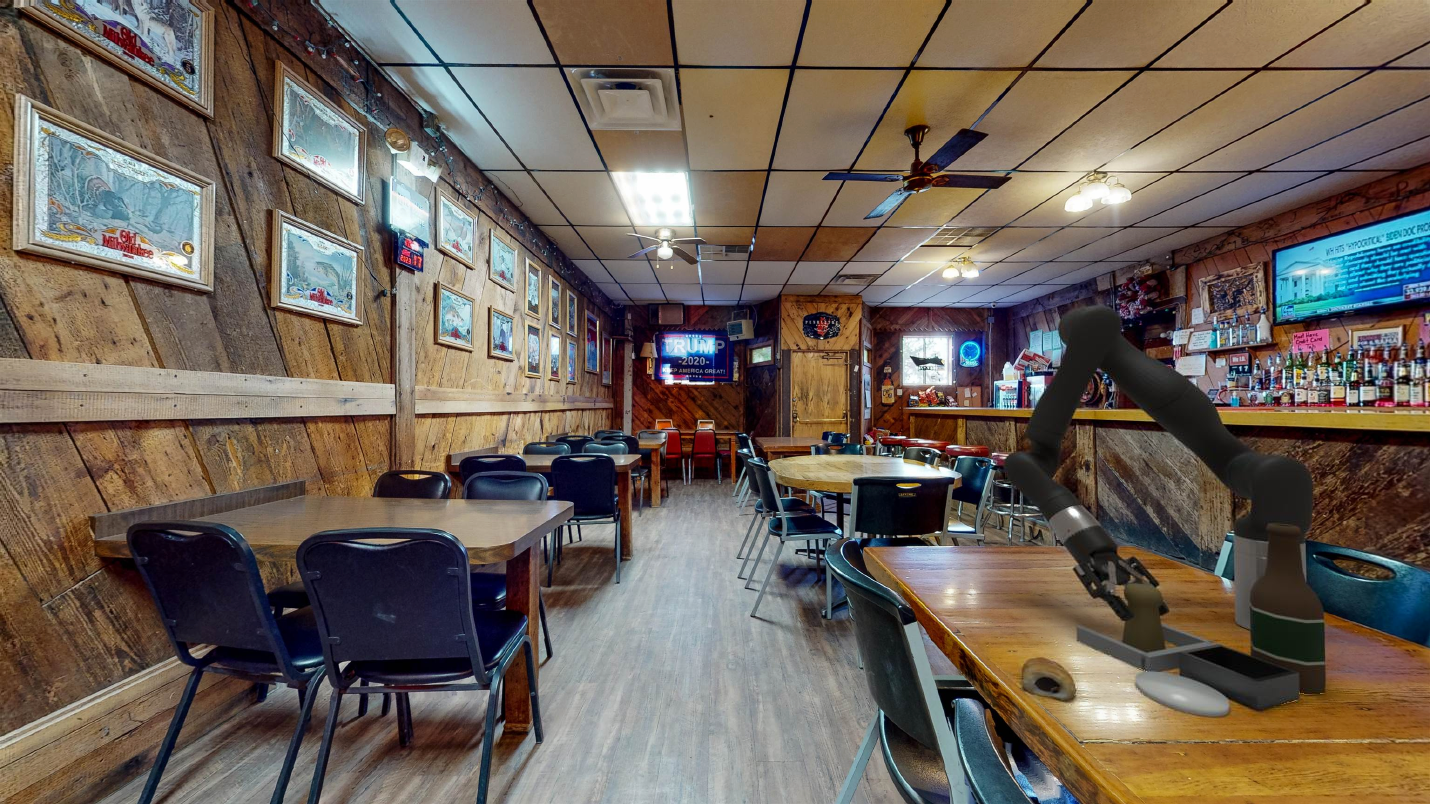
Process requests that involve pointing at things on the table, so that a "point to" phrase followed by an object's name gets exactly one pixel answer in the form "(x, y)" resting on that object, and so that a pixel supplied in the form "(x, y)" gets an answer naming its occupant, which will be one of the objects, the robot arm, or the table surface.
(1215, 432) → the robot arm
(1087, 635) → the grey u-shaped frame
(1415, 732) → the table surface
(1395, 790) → the table surface
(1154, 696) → the saucer
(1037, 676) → the pastry
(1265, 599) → the beer bottle
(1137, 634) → the cork
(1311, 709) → the table surface
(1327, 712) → the table surface
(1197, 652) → the open storage bin
